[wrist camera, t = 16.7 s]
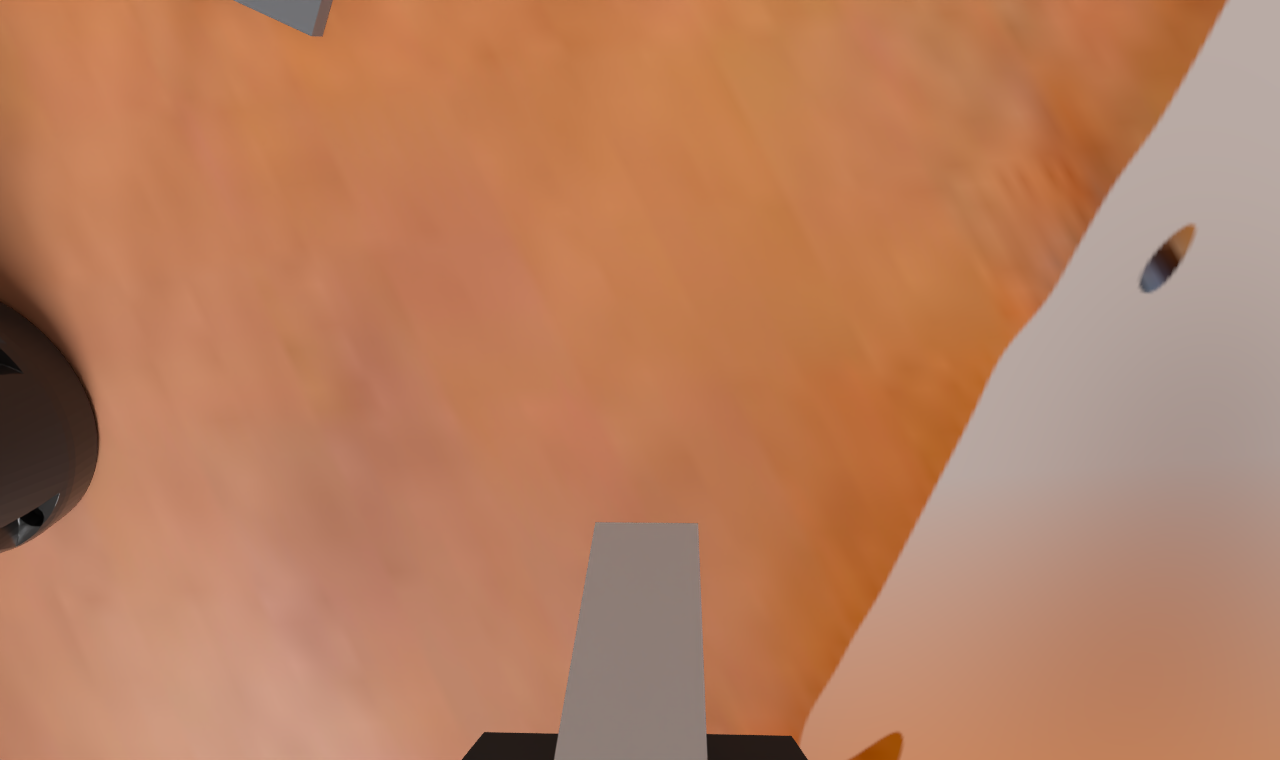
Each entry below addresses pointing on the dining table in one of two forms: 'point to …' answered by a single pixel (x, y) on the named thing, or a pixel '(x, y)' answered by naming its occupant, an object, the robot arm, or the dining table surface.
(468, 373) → the dining table surface
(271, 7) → the switch block
